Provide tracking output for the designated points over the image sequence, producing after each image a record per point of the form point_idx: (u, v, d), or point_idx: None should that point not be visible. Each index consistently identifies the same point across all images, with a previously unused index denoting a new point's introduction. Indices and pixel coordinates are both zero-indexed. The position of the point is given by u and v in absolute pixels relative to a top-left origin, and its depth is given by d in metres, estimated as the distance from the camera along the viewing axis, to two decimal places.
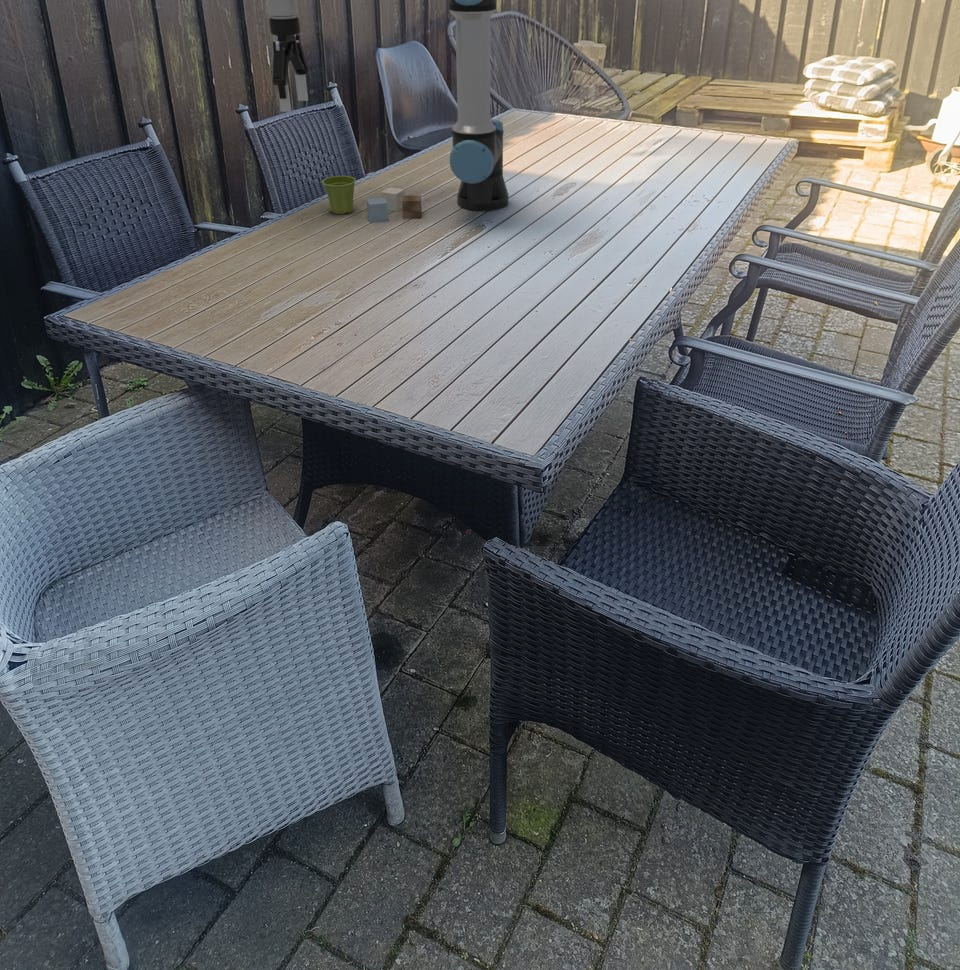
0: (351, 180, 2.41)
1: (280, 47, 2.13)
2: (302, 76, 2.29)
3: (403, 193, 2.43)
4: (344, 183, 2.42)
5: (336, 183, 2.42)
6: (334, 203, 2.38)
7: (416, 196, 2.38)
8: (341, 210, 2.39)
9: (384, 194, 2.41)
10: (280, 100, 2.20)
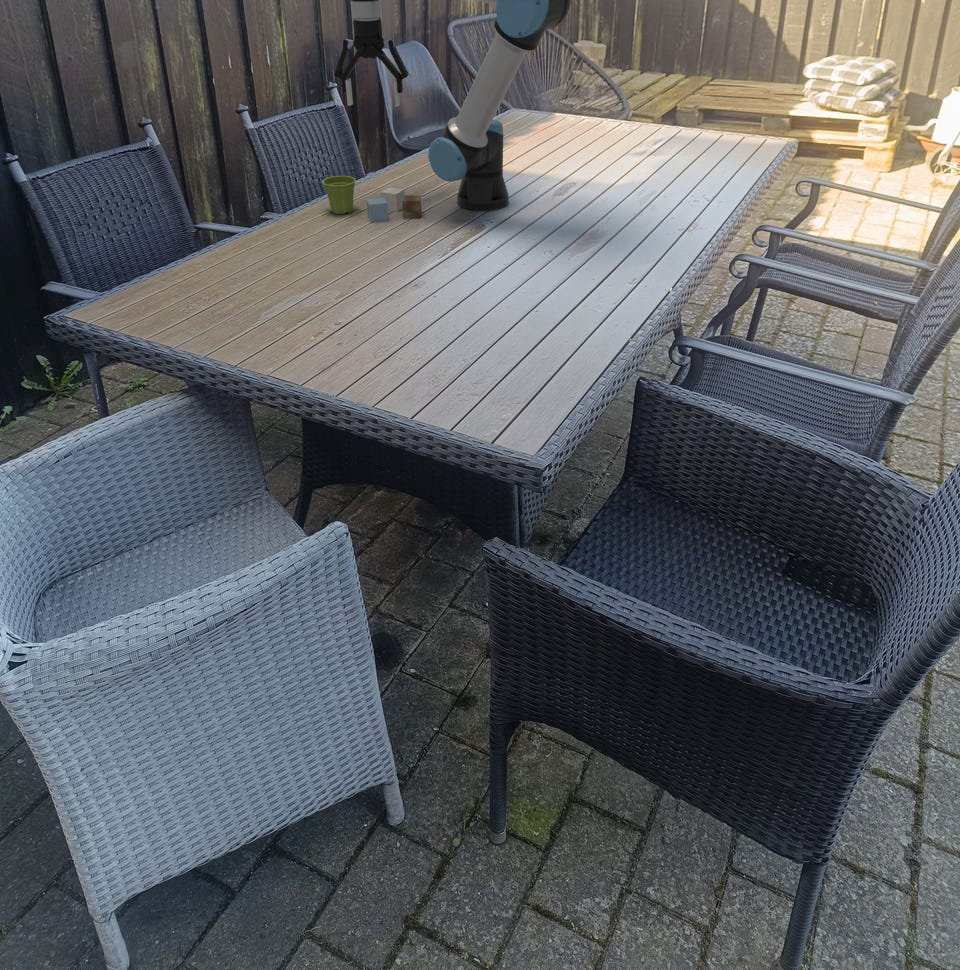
0: (351, 180, 2.41)
1: None
2: None
3: (403, 193, 2.43)
4: (344, 183, 2.42)
5: (336, 183, 2.42)
6: (334, 203, 2.38)
7: (417, 196, 2.38)
8: (341, 210, 2.39)
9: (384, 194, 2.41)
10: None
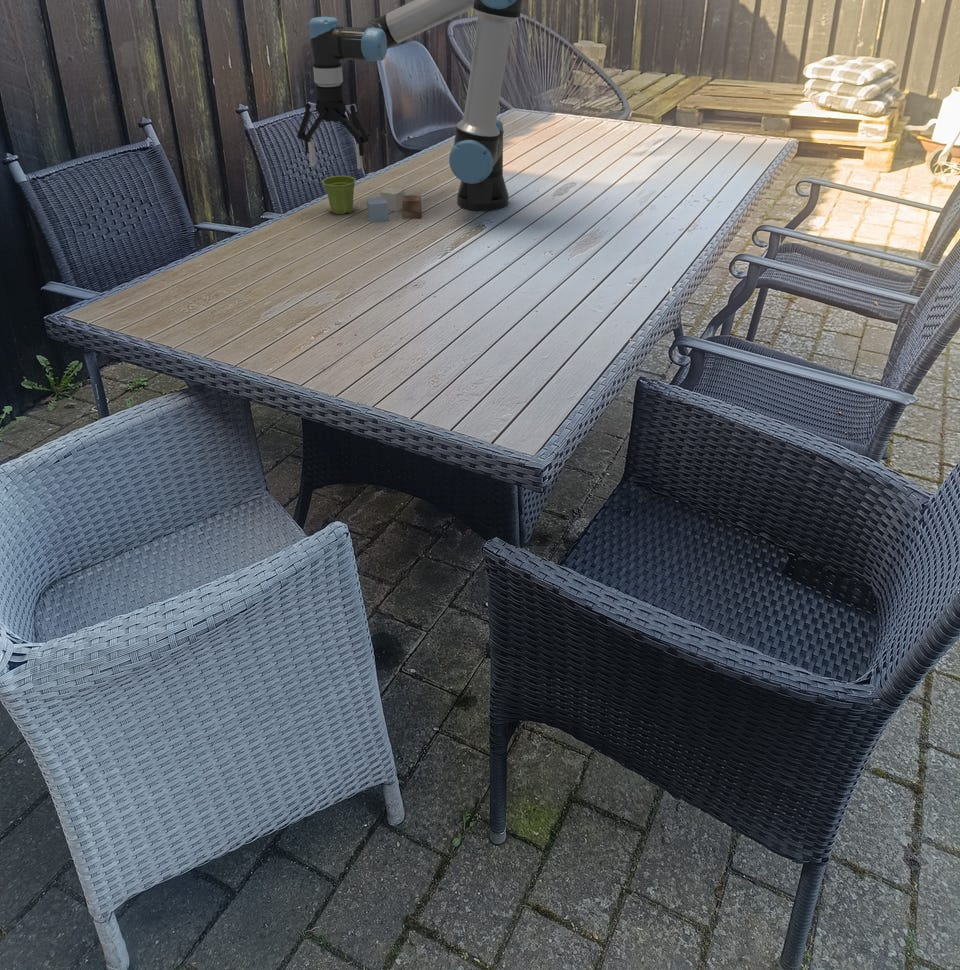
0: (351, 180, 2.41)
1: None
2: None
3: (403, 193, 2.43)
4: (344, 183, 2.42)
5: (336, 183, 2.42)
6: (334, 203, 2.38)
7: (416, 196, 2.38)
8: (341, 210, 2.39)
9: (384, 194, 2.41)
10: None
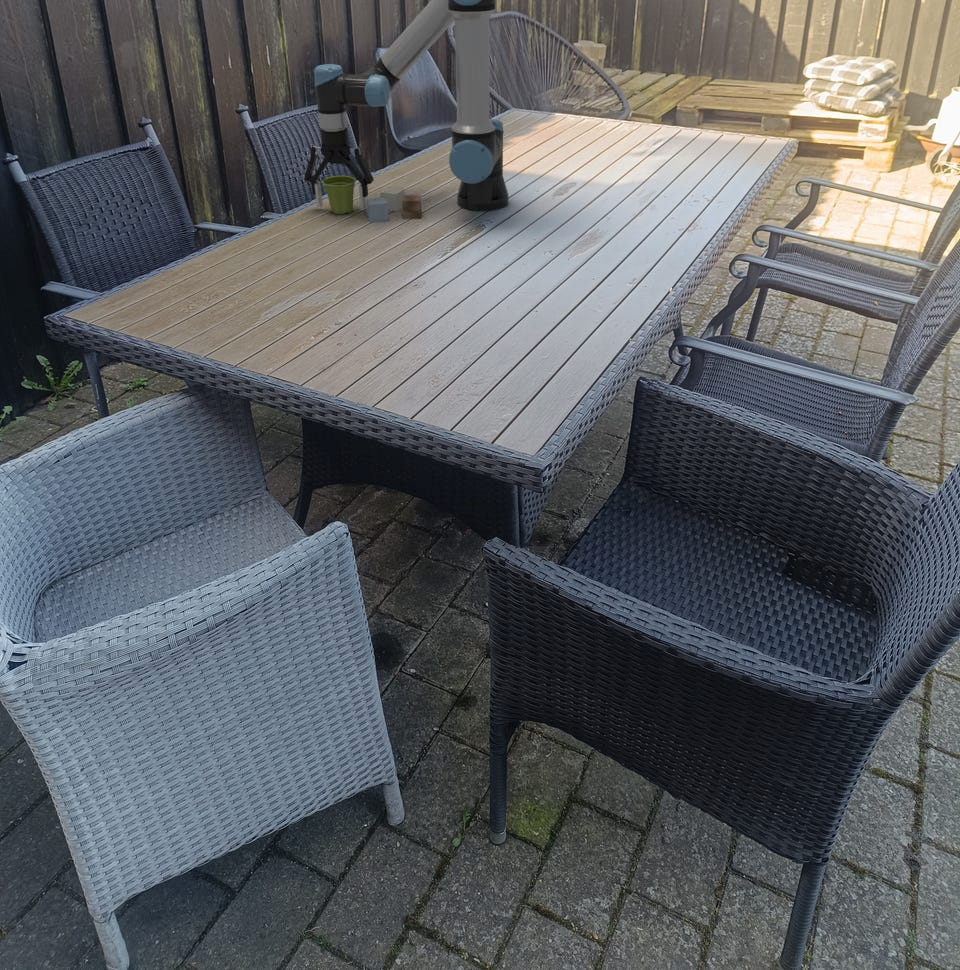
0: (351, 180, 2.41)
1: None
2: None
3: (403, 193, 2.43)
4: (345, 183, 2.42)
5: (336, 183, 2.42)
6: (334, 203, 2.38)
7: (417, 196, 2.38)
8: (341, 210, 2.39)
9: (384, 194, 2.41)
10: None
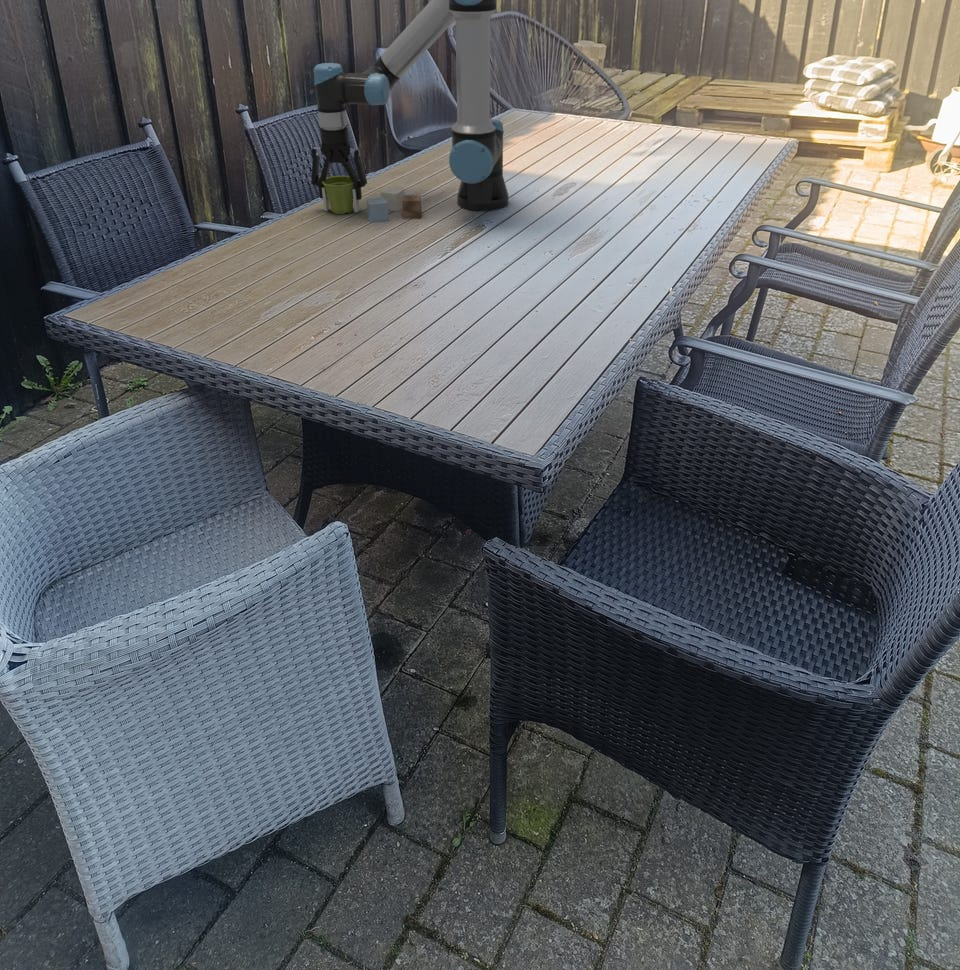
0: None
1: None
2: None
3: (403, 193, 2.43)
4: (344, 183, 2.42)
5: (336, 183, 2.42)
6: (334, 203, 2.38)
7: (416, 196, 2.38)
8: (341, 210, 2.39)
9: (384, 194, 2.41)
10: None
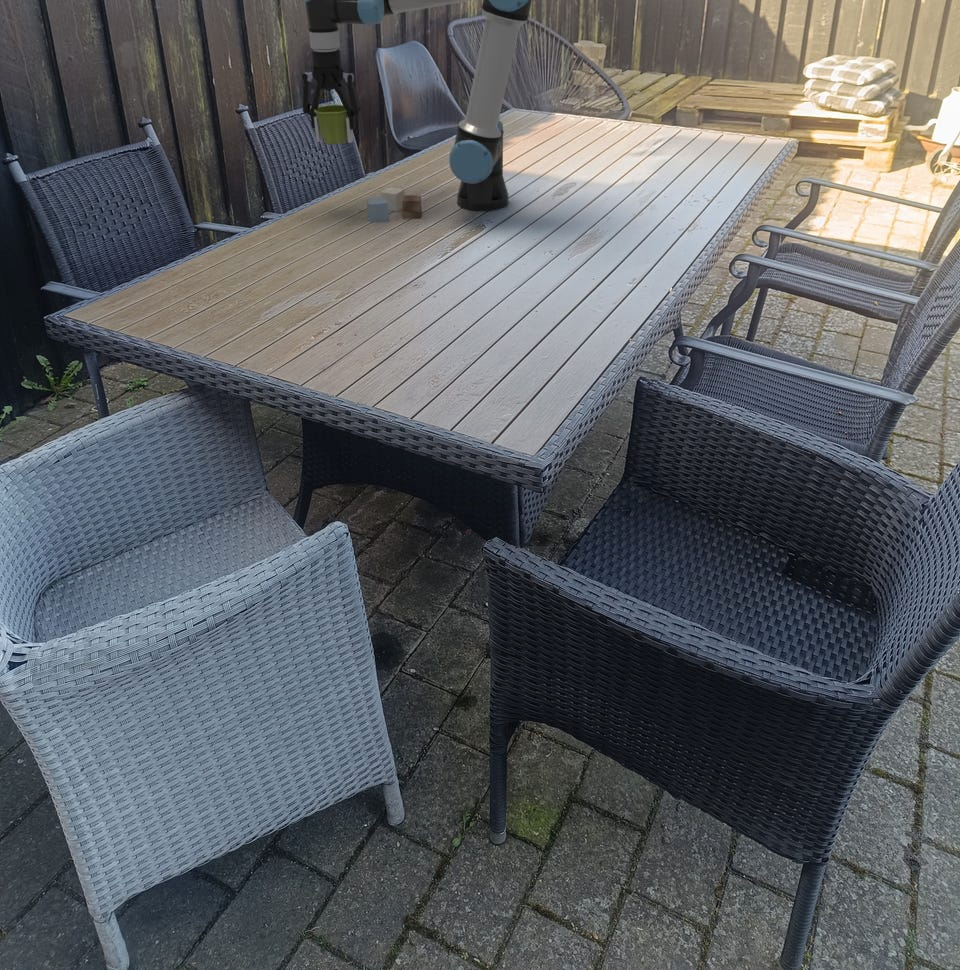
0: (344, 109, 2.29)
1: None
2: None
3: (403, 193, 2.43)
4: None
5: (329, 113, 2.31)
6: (327, 133, 2.27)
7: (416, 196, 2.38)
8: (334, 140, 2.28)
9: (384, 194, 2.41)
10: None
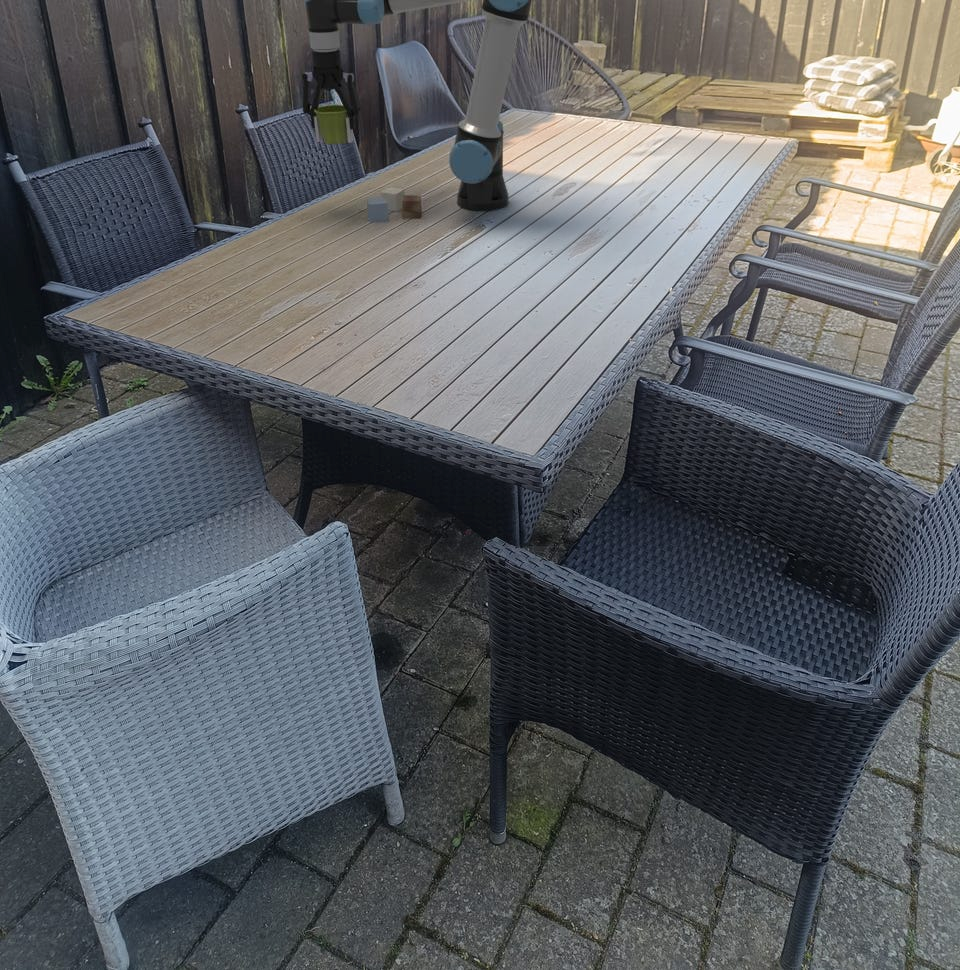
0: (344, 109, 2.29)
1: None
2: None
3: (403, 193, 2.43)
4: None
5: (329, 113, 2.31)
6: (327, 133, 2.27)
7: (417, 196, 2.38)
8: (334, 140, 2.28)
9: (384, 194, 2.41)
10: None
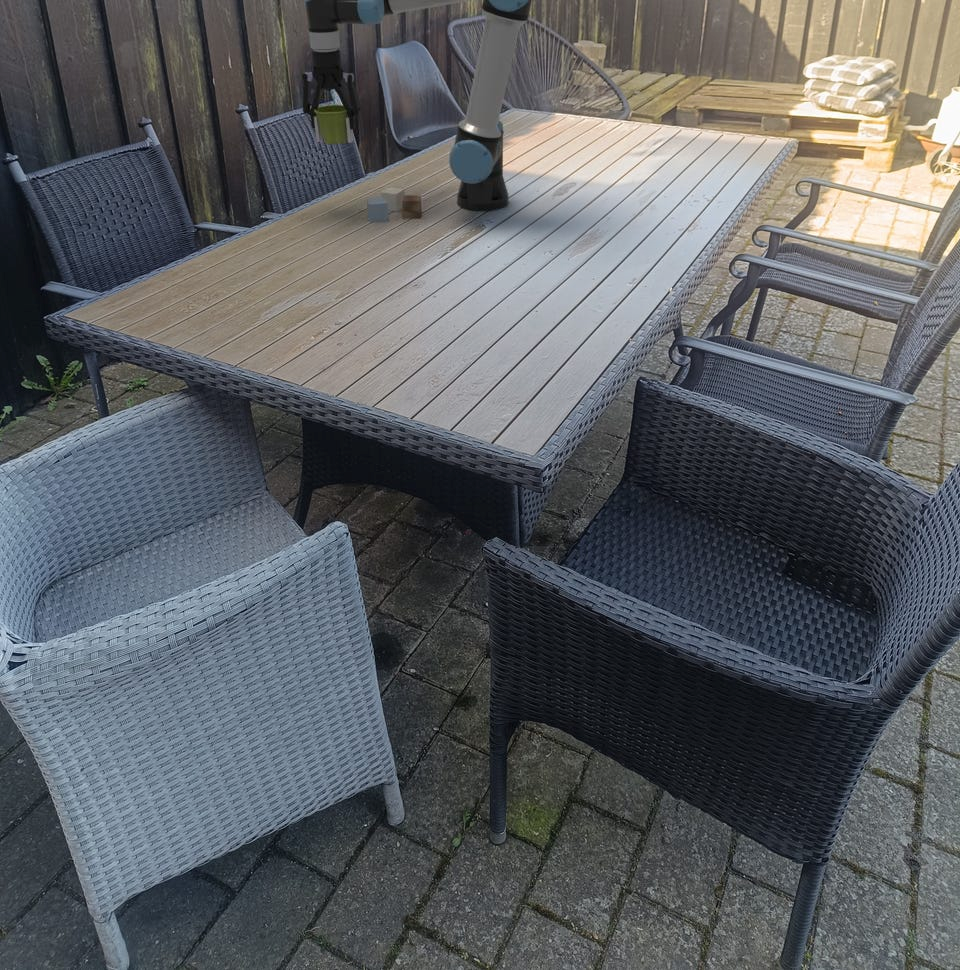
0: (344, 109, 2.29)
1: None
2: None
3: (403, 193, 2.43)
4: None
5: (329, 113, 2.31)
6: (327, 133, 2.27)
7: (417, 196, 2.38)
8: (334, 140, 2.28)
9: (384, 194, 2.41)
10: None
